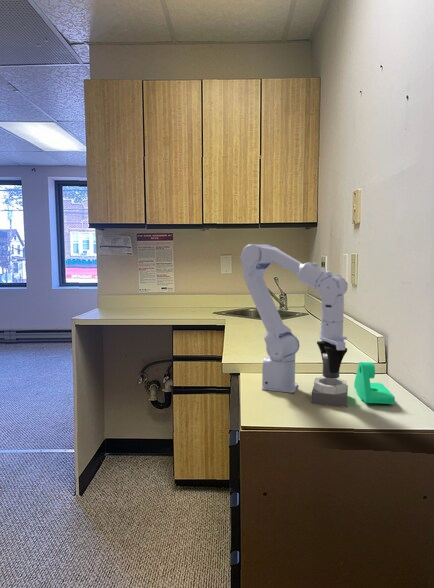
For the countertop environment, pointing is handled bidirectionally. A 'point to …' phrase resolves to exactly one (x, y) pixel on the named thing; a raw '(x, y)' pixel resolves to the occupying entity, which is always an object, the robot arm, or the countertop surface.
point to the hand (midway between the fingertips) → (330, 369)
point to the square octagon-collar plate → (330, 391)
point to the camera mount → (371, 386)
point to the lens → (326, 368)
